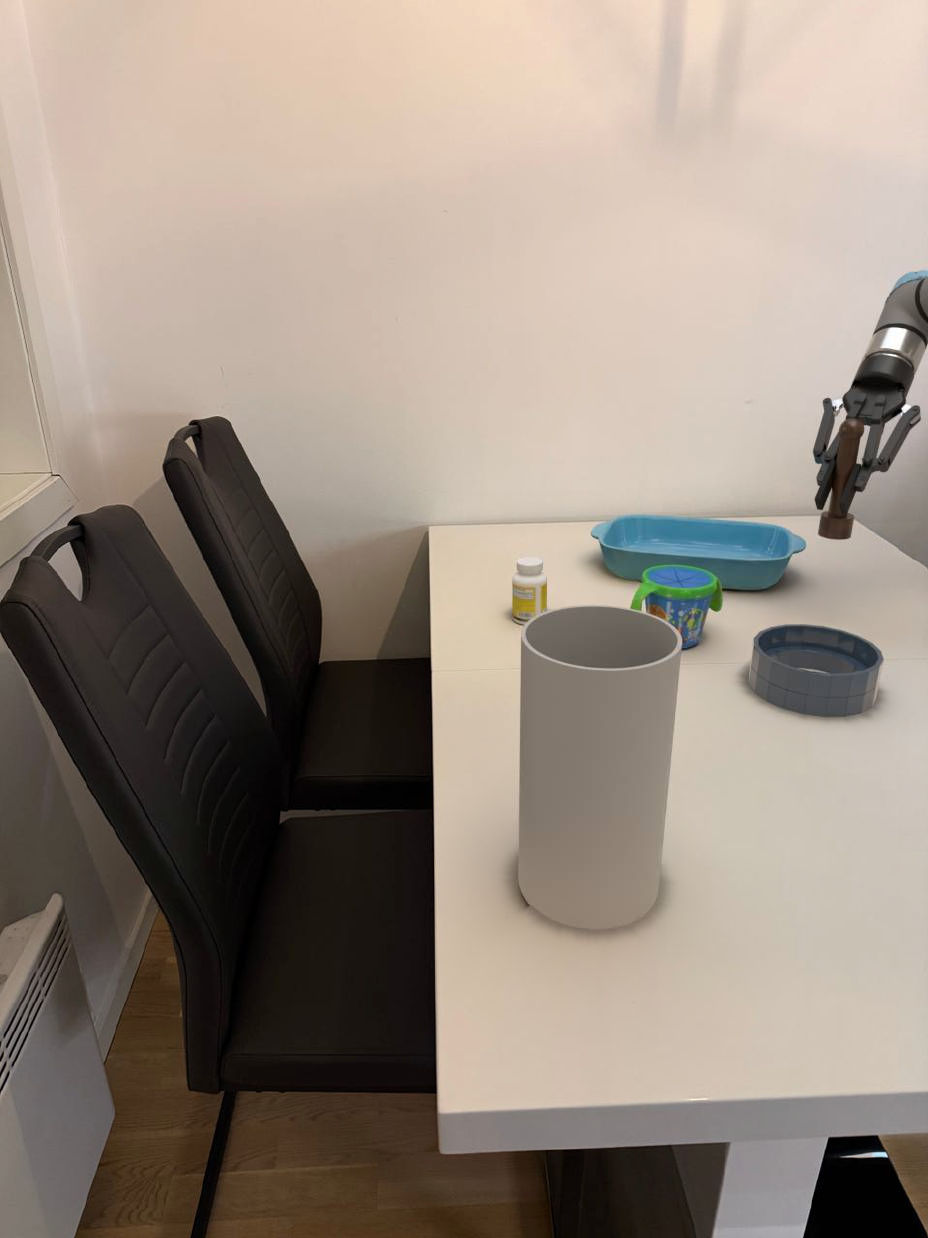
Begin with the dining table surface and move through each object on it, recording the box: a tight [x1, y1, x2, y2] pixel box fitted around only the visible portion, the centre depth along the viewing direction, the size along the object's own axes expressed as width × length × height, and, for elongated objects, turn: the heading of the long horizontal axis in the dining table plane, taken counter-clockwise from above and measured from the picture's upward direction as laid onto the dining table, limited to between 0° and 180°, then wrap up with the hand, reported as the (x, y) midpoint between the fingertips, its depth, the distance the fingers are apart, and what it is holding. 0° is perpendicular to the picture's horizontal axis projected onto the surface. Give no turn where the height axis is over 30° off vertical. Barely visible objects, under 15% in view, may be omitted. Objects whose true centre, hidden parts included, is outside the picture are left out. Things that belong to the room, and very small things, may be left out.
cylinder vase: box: [517, 604, 683, 931], centre depth 71 cm, size 12×12×25 cm
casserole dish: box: [590, 514, 807, 591], centre depth 150 cm, size 37×22×7 cm, turn 71°
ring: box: [748, 623, 885, 718], centre depth 107 cm, size 15×15×6 cm
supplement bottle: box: [511, 556, 548, 626], centre depth 130 cm, size 5×5×10 cm
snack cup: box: [629, 565, 724, 649], centre depth 122 cm, size 16×10×10 cm
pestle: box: [817, 418, 865, 541], centre depth 117 cm, size 4×4×17 cm
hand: (830, 506), depth 116 cm, fingers closed on pestle, 3 cm apart
